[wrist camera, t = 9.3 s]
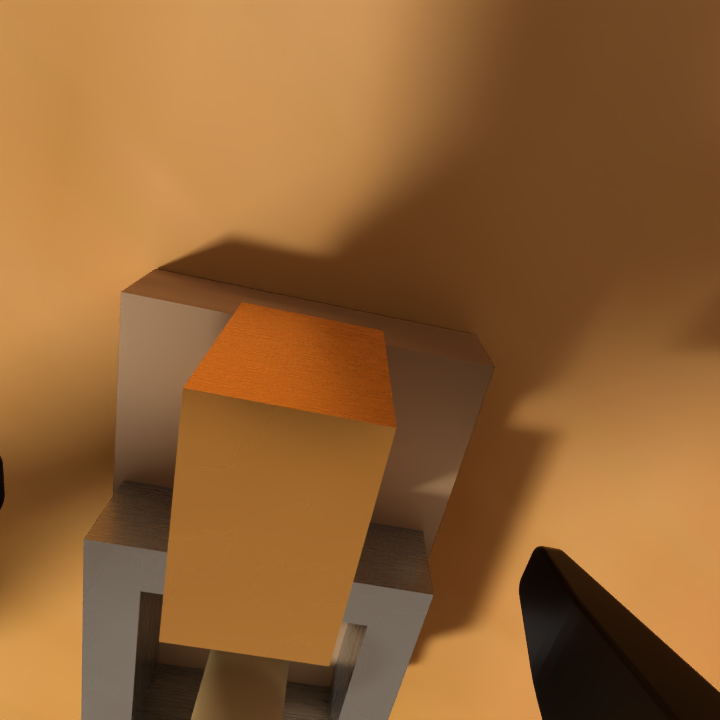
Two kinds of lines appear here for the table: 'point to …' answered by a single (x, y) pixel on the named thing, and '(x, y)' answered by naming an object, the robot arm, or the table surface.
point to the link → (261, 532)
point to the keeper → (403, 468)
